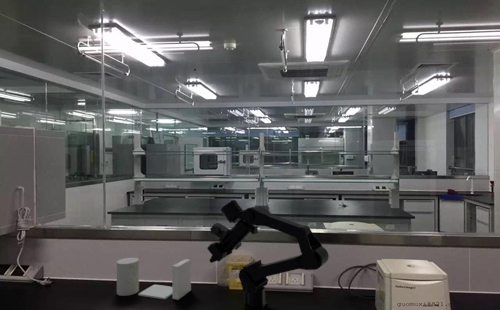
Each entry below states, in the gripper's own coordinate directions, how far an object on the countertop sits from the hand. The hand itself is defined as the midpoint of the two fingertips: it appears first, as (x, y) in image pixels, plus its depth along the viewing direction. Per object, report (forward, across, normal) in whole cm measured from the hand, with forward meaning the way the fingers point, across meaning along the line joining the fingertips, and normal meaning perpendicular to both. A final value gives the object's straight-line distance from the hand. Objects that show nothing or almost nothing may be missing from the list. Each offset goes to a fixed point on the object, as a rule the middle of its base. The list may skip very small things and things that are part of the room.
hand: (211, 261), depth 118 cm
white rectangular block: (+18, 0, +1) cm, 19 cm away
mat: (+25, +1, -6) cm, 26 cm away
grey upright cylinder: (+34, +4, -15) cm, 37 cm away
